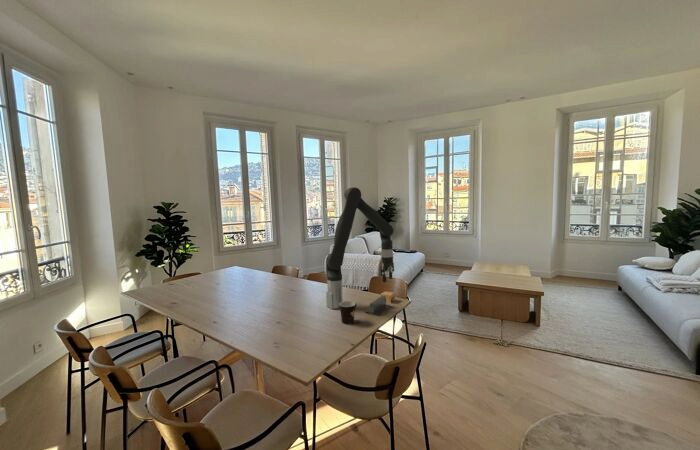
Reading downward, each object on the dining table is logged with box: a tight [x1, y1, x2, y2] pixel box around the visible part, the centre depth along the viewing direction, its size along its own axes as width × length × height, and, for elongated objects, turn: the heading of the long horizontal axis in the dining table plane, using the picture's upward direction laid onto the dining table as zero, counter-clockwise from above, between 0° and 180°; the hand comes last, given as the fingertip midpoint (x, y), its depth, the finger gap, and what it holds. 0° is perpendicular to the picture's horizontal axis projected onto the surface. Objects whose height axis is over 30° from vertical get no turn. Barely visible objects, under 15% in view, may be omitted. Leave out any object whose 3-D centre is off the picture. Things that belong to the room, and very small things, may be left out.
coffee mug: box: [339, 300, 357, 325], centre depth 166 cm, size 12×9×10 cm
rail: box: [364, 295, 392, 316], centre depth 182 cm, size 16×9×6 cm, turn 148°
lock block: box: [380, 291, 396, 304], centre depth 197 cm, size 7×6×5 cm
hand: (387, 280), depth 196 cm, fingers open, 8 cm apart
